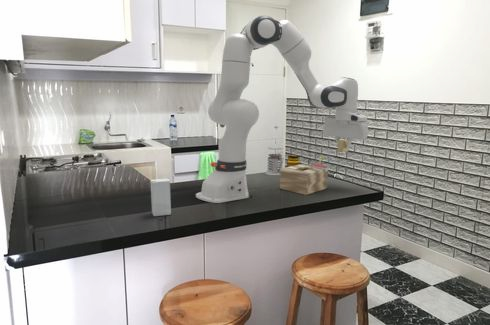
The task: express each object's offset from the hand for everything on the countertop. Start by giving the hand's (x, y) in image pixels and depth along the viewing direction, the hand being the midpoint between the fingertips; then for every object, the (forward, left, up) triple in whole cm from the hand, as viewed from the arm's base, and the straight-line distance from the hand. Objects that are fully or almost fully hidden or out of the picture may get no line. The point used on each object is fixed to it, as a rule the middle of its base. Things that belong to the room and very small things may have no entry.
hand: (343, 147), depth 163 cm
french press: (+1, +39, -19) cm, 43 cm away
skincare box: (-79, +23, -19) cm, 84 cm away
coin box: (-13, +11, -19) cm, 25 cm away
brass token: (0, 0, -2) cm, 2 cm away
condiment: (-2, +26, -19) cm, 32 cm away
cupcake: (+11, +20, -19) cm, 30 cm away
